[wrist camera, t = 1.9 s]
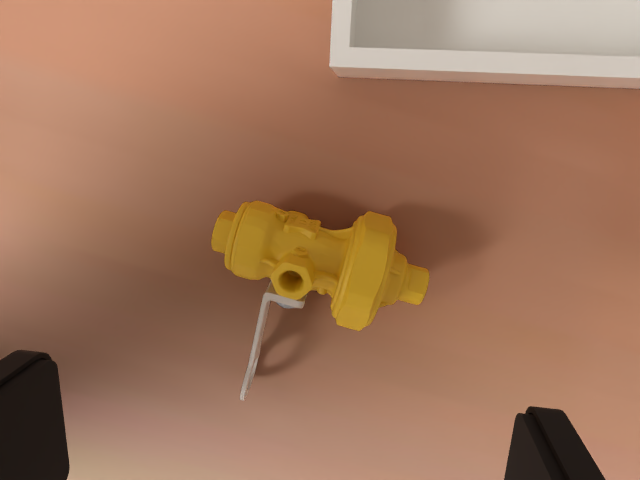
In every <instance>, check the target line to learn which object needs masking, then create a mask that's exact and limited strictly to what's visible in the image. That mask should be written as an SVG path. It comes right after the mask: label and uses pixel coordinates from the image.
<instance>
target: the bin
mask: <svg viewBox="0 0 640 480" xmlns="http://www.w3.org/2000/svg"><path fill="white" fill-rule="evenodd" d="M329 67H330V68H331V69H332V70H333V71H334V73H335V74H336V75H337V76H338V77H347V78H372V79H398V80H423V81H448V82H474V83H499V84H525V85H550V86H576V87H601V88H627V89H640V0H333V1H332V22H331V43H330V64H329Z"/></svg>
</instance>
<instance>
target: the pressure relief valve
mask: <svg viewBox="0 0 640 480" xmlns="http://www.w3.org/2000/svg"><path fill="white" fill-rule="evenodd" d="M320 226H321V221H318V220H311V219H309V218H308V216H307V215H306V214H303V213H300V212H296V211H292V210H291V211H288V212H286V211H283V210H282V209H279V208H276V207H274V206H273V205H271V204H268V203H265V202H261V201H257V200H256V201H252V202H251V203H250V202H244V203H243V204H242V205H241V206H240V208H239V209H238V211H237V213H234V212H230V211H226V210H225V211H223V212H222V213H221V214H220V215H219V217H218V218H217V221H216V223H215V226H214V229H213V233H212V239H211V246H212V249H213V250H214V251H217V252H221V253H224V254H225V258H224V263H225V267H226V268H227V269H229V270H231V271H232V272H233V273H234V274H235V275H236V276H239V277H242V278H246V279H249V280H252V279H256V280H260V279H262V278H264V277H268V278H270V279H271V281H270V283H269V286H268V288H267V290H266V292H265V293H264V295H263V299H262V304H261V308H260V313H259V318H258V322H257V327H256V331H255V336H254V341H253V345H252V350H251V354H250V359H249V363H248V367H247V371H246V374H245V378H244V381H243V385H242V389H241V394H240V400H243V401H244V400H245V399H246V397H247V395H248V392H249V389H250V387H251V384H252V381H253V378H254V374H255V371H256V367H257V363H258V359H259V355H260V347H261V342H262V337H263V333H264V328H265V324H266V320H267V315H268V311H269V306H270V302H271V301H275V302H276V303H277V304H278V305H280V306H281V307H283V308H303V307H304V304H305V300H306V297H307V294H308V292H309V291H312V290H317V292H318V293H319V294H323V295H324V294H326V293H328V294H329V295H330V296H331V298H332V300H331V305H330V308H331V310H332V316H333V317H334V318H335V319H336V323H337V325H339V326H343V327H346V328H350V329H353V330H357V331H360V330H361V329H363V328H364V326H369V325H370V324H371V323H372V321H373V319H374V317H375V315H376V313H377V310H378V308H379V307H384V306H386V305H392V304H394V303H395V302H396V300H401V301H404V302H408V303H411V304H415V305H419V304H420V303H421V302H422V301H423V299H424V296H425V294H426V291H427V287H428V283H429V271H428V270H427V269H426V268H423V267H419V266H415V265H412V264H408V263H407V258H406V257H405V256H404V255H403V254H399V252H398V251H397V250H396V249H395V245H396V237H397V229H396V226H395V225H394V224H393V223H392V220H391V217H389V216H385V215H382V214H378V213H375V212H371V211H368V212H367V213H366V214H365V215H363V216H362V215H361V216H359V217H358V219H357V220H356V221H354V223H353V225H352V227H350V228H347V229H342V230H329V229H326V228H322V227H320Z"/></svg>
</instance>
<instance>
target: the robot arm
mask: <svg viewBox="0 0 640 480" xmlns="http://www.w3.org/2000/svg"><path fill="white" fill-rule="evenodd" d="M68 474H69V458H68V450H67V442H66V433H65V425H64V417H63V409H62V400H61V392H60V384H59V376H58V368H57V364H56V363H55V362H54V361H52V359H51V357H50V356H49V354H47V353H43V352H34V351H25V350H17V351H15V352H13V353H11V354H10V355H8V356H7V357H5V358H3V359H2V360H0V480H66V479H67V477H68ZM504 480H605V478H604V477H603V475H602V473H601V472H600V470H599V468H598V467H597V465H596V463H595V462H594V460H593V458H592V457H591V455H590V453H589V452H588V450H587V449H586V447H585V445H584V444H583V442H582V440H581V439H580V437H579V435H578V434H577V432H576V430H575V429H574V427H573V425H572V424H571V422H570V421H569V419H568V417H567V416H566V414H565V413H564V412H563V411H562V410H559V409H550V408H540V407H531V406H530V407H528V409H527V410H526V413H525V414H522V413H518V414H517V416H516V418H515V423H514V428H513V434H512V439H511V445H510V450H509V456H508V461H507V467H506V472H505V478H504Z"/></svg>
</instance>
